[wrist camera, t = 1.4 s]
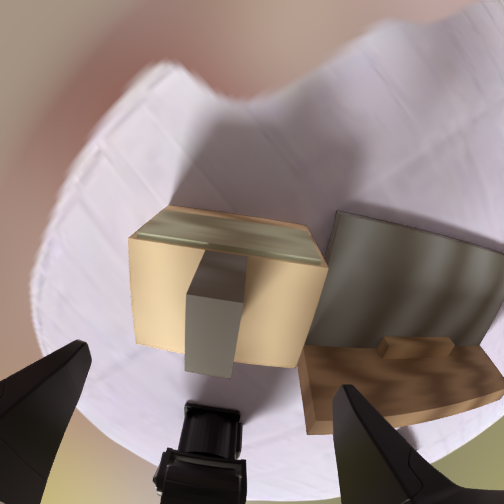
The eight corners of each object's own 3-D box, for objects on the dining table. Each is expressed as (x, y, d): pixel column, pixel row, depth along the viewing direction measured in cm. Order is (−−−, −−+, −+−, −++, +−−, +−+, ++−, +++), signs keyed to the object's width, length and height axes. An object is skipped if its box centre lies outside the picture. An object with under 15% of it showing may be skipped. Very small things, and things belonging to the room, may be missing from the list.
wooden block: (165, 288, 22) (113, 389, 12) (169, 200, 19) (87, 267, 9) (286, 306, 22) (302, 420, 12) (306, 221, 20) (354, 308, 9)
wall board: (294, 356, 25) (304, 438, 16) (337, 210, 19) (390, 264, 11) (466, 355, 26) (497, 402, 17) (514, 257, 20) (563, 294, 12)
